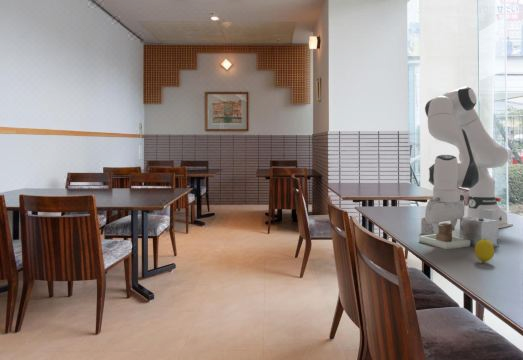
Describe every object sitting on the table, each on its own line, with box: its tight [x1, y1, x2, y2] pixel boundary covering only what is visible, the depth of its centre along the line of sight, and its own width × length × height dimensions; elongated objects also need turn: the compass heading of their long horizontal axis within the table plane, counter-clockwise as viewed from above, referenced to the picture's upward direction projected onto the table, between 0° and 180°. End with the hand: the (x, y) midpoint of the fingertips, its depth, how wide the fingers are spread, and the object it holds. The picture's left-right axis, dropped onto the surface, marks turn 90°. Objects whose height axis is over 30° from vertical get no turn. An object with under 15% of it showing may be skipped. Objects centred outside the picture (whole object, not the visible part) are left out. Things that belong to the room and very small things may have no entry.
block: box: [436, 222, 453, 242], centre depth 165 cm, size 4×4×7 cm
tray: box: [418, 234, 471, 250], centre depth 165 cm, size 12×14×2 cm
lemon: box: [474, 239, 495, 264], centre depth 137 cm, size 6×6×8 cm
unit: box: [459, 216, 500, 248], centre depth 163 cm, size 9×11×11 cm
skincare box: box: [479, 209, 500, 240], centre depth 174 cm, size 6×4×12 cm
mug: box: [420, 217, 435, 236], centre depth 186 cm, size 10×7×7 cm
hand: (444, 232), depth 165 cm, fingers open, 8 cm apart
